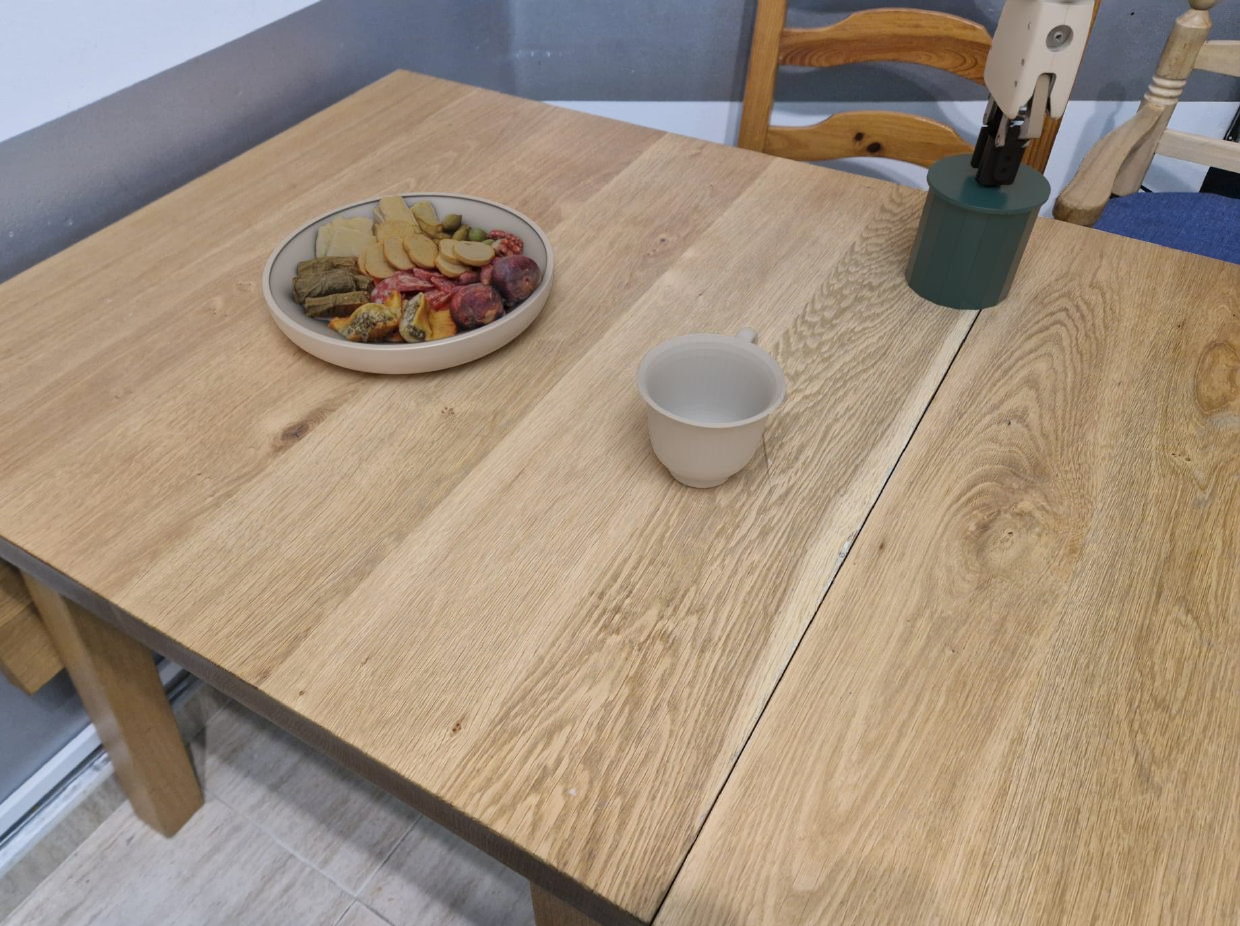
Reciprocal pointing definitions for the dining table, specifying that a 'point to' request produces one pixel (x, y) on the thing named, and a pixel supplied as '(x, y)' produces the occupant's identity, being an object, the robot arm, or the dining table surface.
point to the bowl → (409, 281)
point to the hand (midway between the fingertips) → (991, 173)
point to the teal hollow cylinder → (966, 254)
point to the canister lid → (964, 189)
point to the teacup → (708, 403)
